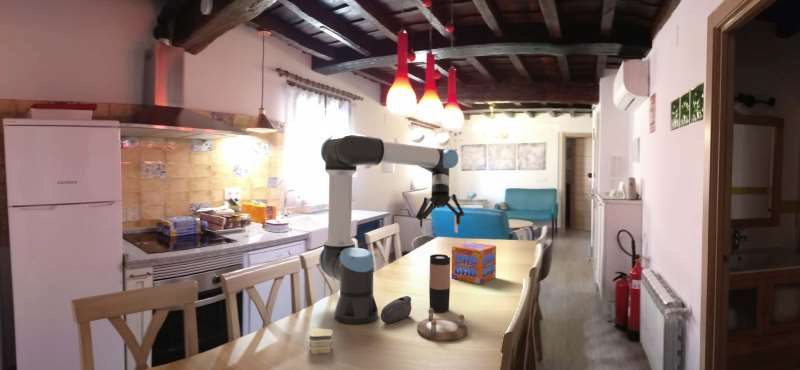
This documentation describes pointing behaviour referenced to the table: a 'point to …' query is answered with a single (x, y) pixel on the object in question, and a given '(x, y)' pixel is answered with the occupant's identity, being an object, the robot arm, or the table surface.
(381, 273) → the table surface
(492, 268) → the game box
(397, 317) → the perforated stone tool
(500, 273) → the table surface
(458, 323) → the brown round pegged stand
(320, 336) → the beige layered block
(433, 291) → the travel mug
